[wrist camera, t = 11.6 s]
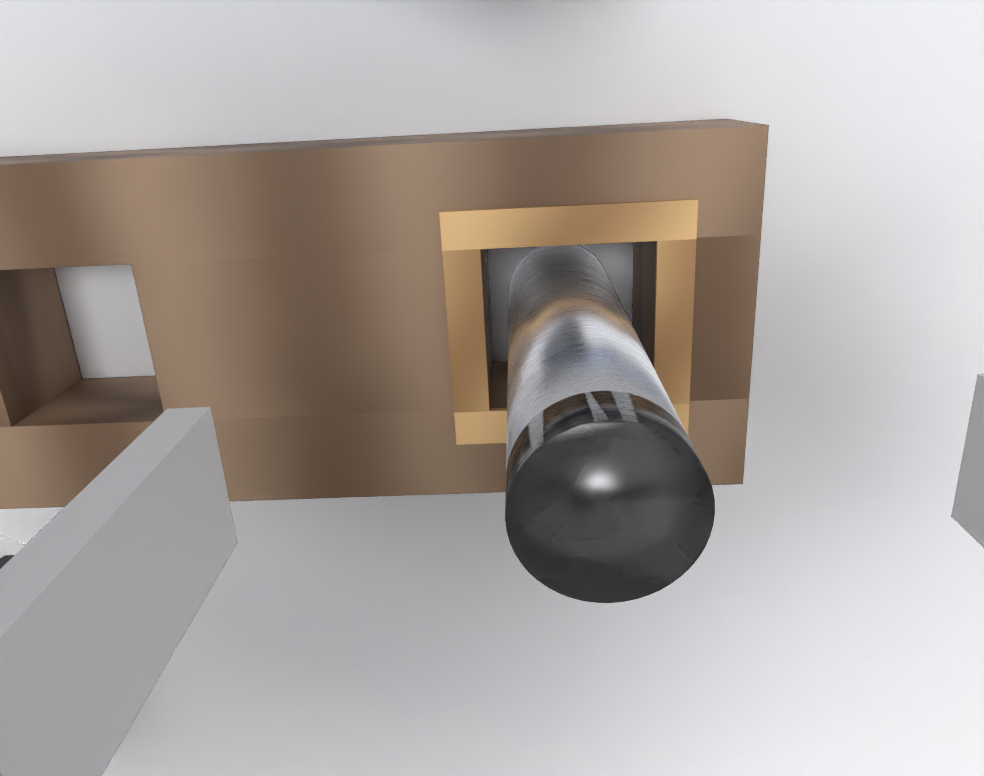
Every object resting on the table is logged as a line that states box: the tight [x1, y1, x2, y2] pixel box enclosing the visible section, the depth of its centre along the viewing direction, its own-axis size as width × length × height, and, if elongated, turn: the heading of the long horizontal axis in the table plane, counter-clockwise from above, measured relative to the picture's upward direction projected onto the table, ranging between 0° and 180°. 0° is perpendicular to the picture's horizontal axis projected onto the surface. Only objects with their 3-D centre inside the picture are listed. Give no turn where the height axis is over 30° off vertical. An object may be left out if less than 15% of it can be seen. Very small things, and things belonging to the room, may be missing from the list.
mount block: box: [0, 119, 769, 509], centre depth 23 cm, size 24×10×4 cm, turn 93°
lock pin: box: [505, 245, 715, 603], centre depth 18 cm, size 3×3×14 cm
